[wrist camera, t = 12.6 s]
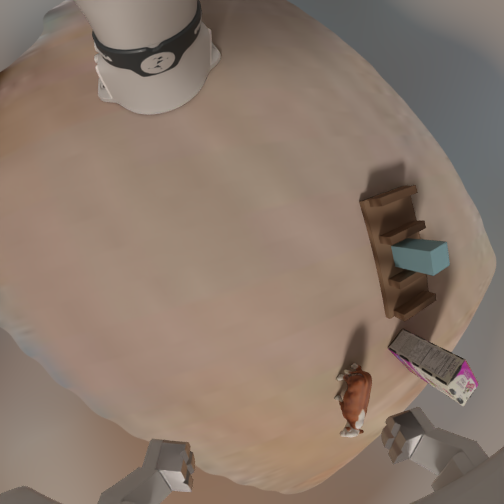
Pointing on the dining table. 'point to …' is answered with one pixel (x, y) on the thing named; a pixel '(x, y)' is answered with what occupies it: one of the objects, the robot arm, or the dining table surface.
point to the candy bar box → (435, 366)
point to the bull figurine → (354, 399)
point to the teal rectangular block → (421, 255)
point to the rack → (382, 238)
